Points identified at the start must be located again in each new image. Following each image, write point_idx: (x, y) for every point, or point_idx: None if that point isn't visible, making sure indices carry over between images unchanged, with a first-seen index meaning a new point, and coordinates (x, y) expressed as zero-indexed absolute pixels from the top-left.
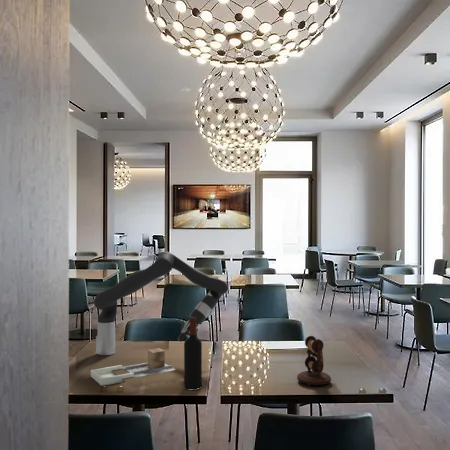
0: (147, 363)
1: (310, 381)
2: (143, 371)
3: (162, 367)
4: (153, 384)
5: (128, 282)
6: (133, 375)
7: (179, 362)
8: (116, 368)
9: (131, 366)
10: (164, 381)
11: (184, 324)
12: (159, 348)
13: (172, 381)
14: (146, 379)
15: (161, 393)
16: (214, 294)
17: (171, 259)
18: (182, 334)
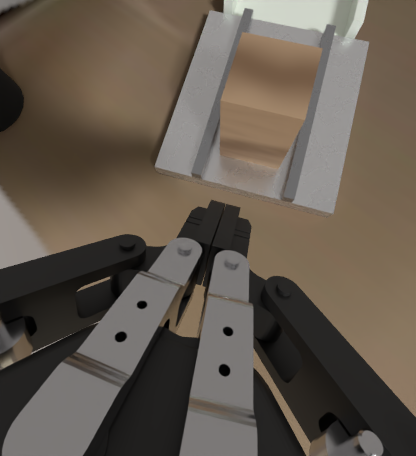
0: (308, 117)
1: None
2: (231, 49)
3: (206, 126)
4: (129, 38)
5: None
6: (224, 4)
7: None
8: (353, 6)
9: (322, 47)
10: (120, 79)
11: (351, 435)
12: (296, 114)
13: (95, 98)
14: (190, 52)
15: (45, 7)
16: None
17: None
18: (196, 235)
